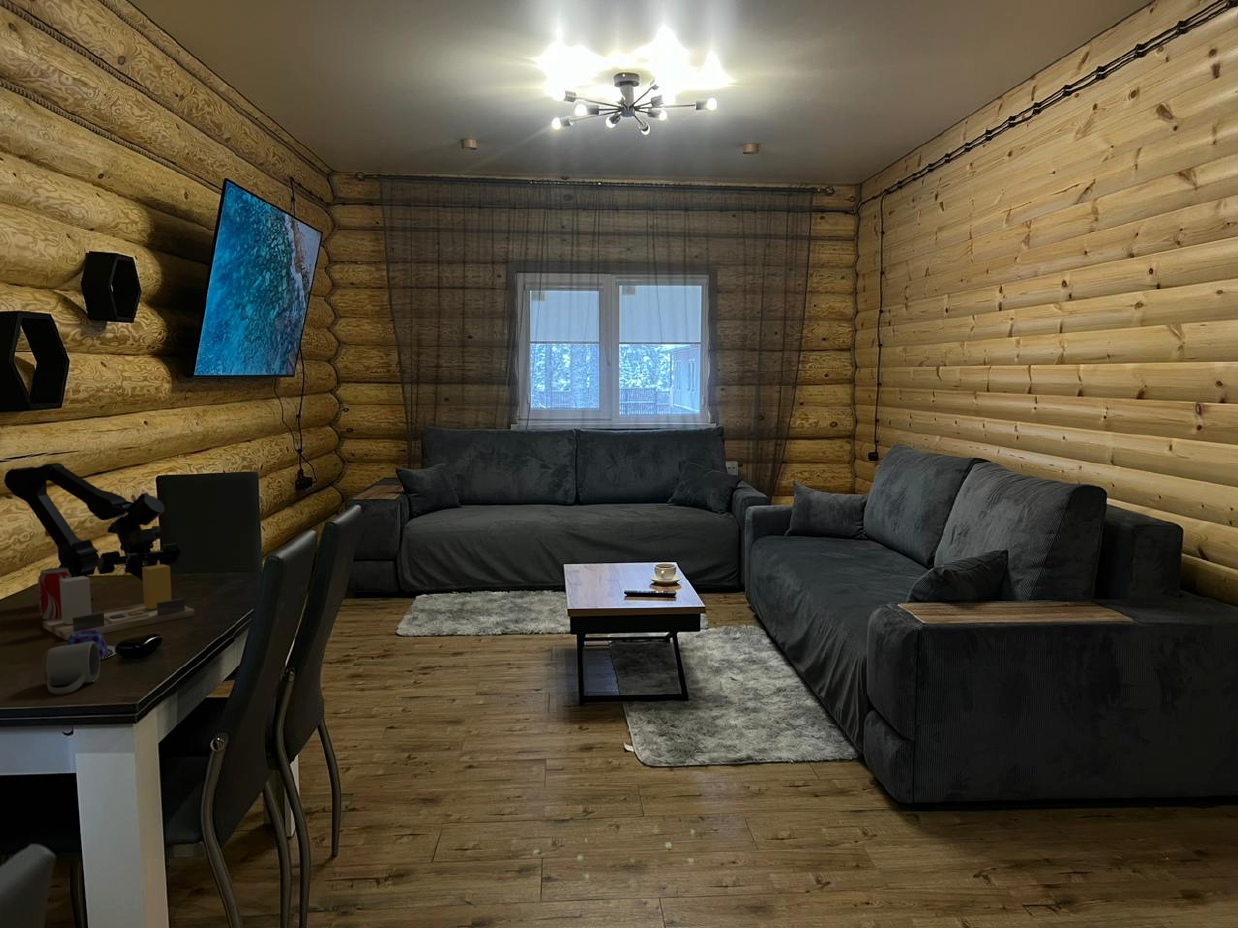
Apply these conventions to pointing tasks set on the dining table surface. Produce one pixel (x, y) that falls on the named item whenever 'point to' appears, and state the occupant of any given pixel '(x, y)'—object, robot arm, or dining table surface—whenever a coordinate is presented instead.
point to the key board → (120, 618)
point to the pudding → (91, 636)
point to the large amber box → (156, 585)
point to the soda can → (51, 592)
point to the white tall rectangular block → (75, 598)
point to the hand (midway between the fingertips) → (150, 584)
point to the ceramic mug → (71, 666)
